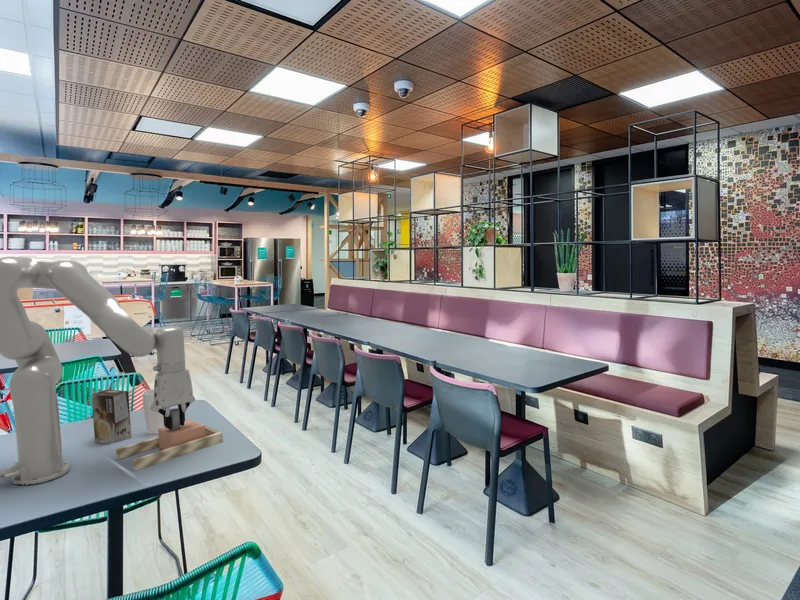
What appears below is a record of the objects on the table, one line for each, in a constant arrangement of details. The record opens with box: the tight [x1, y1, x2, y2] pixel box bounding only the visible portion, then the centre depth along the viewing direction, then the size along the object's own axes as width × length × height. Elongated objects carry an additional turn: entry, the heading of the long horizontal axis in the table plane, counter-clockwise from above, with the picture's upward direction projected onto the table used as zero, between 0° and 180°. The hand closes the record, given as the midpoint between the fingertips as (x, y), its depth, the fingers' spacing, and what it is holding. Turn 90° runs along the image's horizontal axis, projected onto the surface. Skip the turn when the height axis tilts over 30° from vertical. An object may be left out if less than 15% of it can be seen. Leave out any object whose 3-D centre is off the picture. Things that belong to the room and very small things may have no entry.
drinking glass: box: [142, 388, 165, 435], centre depth 157 cm, size 7×7×15 cm
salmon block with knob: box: [158, 407, 205, 450], centre depth 144 cm, size 10×9×12 cm
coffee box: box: [91, 389, 132, 445], centre depth 152 cm, size 9×6×16 cm
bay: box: [115, 423, 223, 471], centre depth 142 cm, size 26×13×4 cm, turn 141°
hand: (174, 425), depth 142 cm, fingers closed on salmon block with knob, 3 cm apart
